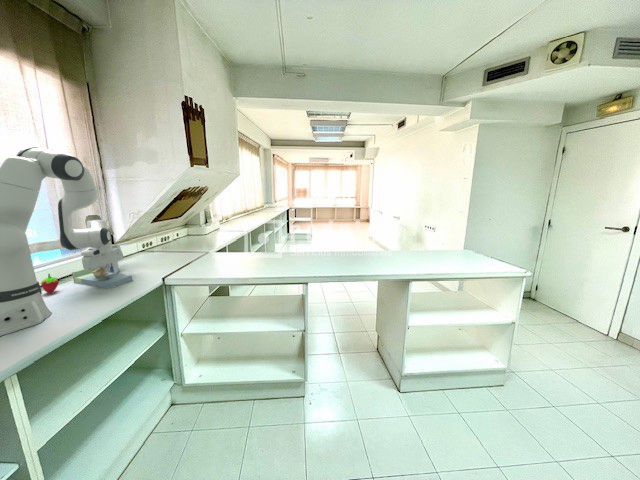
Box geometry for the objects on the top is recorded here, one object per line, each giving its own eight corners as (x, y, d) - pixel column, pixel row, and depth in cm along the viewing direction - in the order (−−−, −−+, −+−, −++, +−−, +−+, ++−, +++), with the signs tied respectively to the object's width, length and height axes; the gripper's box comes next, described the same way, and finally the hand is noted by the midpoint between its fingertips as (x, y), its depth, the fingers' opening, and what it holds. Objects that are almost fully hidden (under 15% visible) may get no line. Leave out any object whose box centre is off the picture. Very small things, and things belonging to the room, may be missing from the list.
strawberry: (63, 288, 131) (59, 270, 129) (56, 294, 124) (51, 274, 122) (48, 290, 128) (44, 272, 126) (40, 296, 122) (35, 276, 120)
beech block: (101, 278, 137) (97, 272, 135) (95, 277, 138) (91, 271, 136) (108, 274, 140) (104, 268, 138) (102, 273, 141) (99, 267, 139)
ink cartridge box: (108, 271, 157) (104, 249, 154) (119, 270, 160) (115, 248, 157) (103, 276, 148) (98, 252, 145) (114, 275, 151) (110, 251, 148)
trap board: (109, 288, 130) (107, 277, 129) (74, 282, 139) (71, 272, 138) (132, 280, 141) (130, 270, 140) (98, 275, 150) (96, 265, 149)
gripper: (114, 243, 149) (119, 265, 152) (77, 253, 129) (83, 278, 132) (124, 243, 148) (128, 266, 151) (88, 254, 128) (93, 279, 131)
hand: (107, 272), depth 141 cm, fingers closed
